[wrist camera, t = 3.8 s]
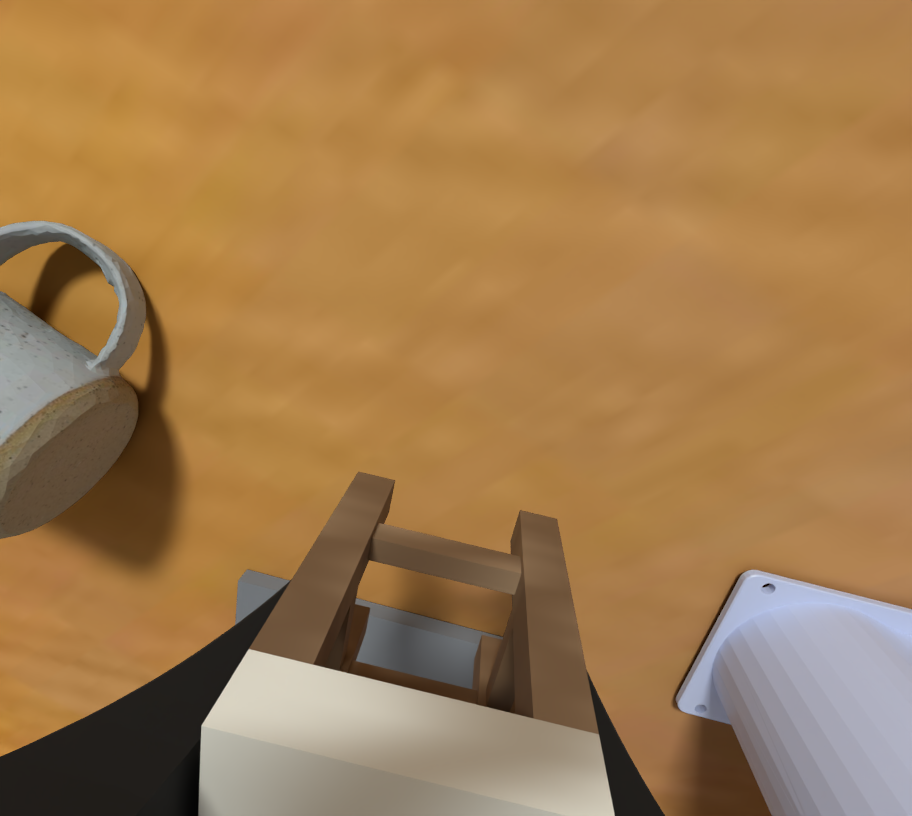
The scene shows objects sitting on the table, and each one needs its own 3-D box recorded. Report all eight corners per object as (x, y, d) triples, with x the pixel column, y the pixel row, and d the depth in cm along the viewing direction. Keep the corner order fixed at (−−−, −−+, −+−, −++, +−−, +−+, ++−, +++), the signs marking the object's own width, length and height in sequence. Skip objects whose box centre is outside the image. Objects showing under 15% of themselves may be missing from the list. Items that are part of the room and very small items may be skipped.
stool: (557, 518, 13) (617, 828, 6) (506, 666, 14) (509, 1027, 8) (358, 471, 13) (201, 725, 6) (333, 625, 14) (193, 946, 8)
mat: (531, 644, 22) (531, 658, 22) (466, 825, 27) (464, 841, 26) (247, 569, 23) (238, 580, 22) (233, 759, 28) (225, 774, 27)
